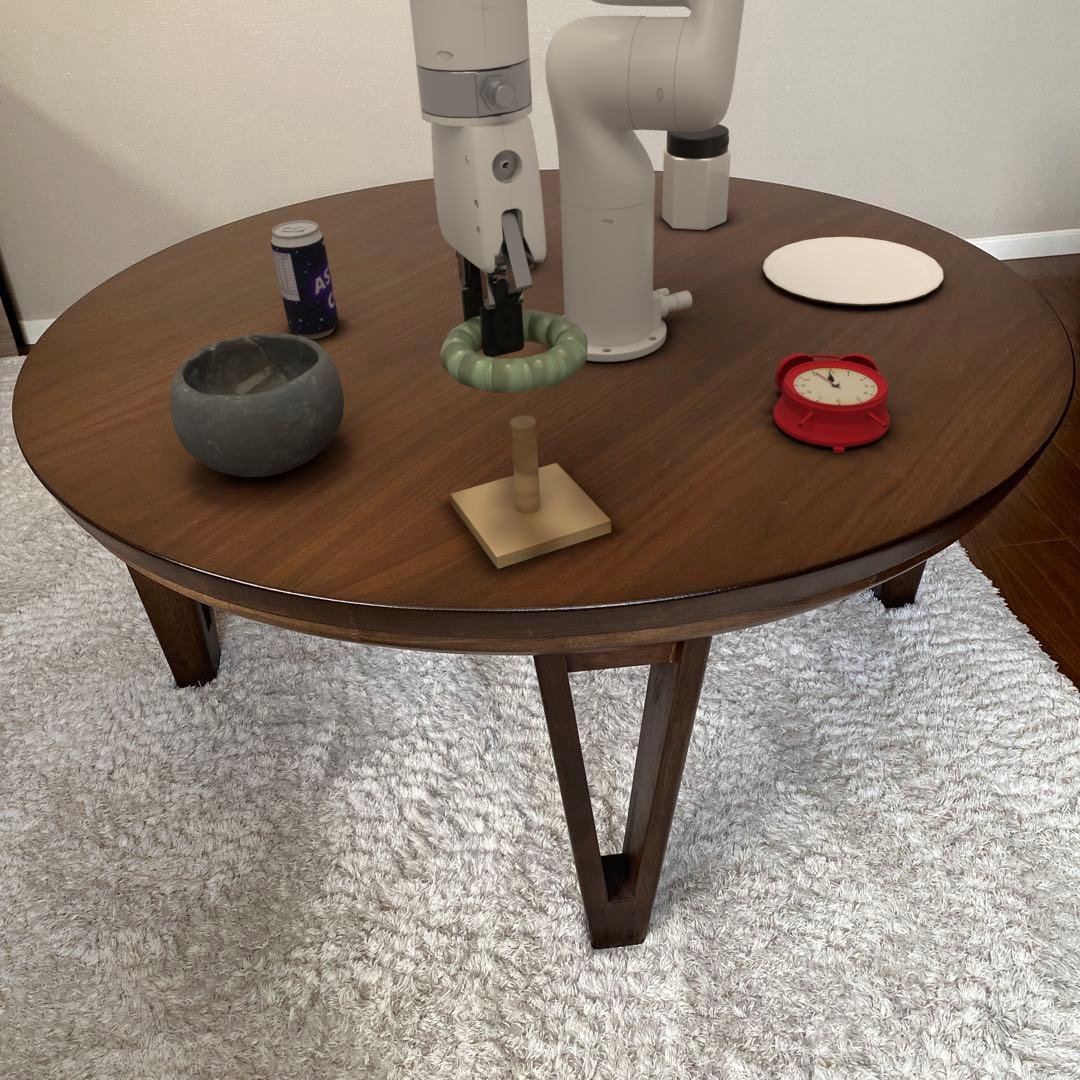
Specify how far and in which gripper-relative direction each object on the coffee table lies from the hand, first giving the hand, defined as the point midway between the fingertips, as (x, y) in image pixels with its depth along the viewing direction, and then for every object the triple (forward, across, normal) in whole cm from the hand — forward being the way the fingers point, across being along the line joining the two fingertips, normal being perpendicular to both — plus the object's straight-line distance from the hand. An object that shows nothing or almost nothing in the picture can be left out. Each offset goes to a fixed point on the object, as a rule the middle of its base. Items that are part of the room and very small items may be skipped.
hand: (494, 342), depth 78 cm
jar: (+14, +50, -50) cm, 72 cm away
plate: (+14, +23, -55) cm, 61 cm away
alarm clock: (+14, -2, -32) cm, 35 cm away
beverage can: (+14, +42, +6) cm, 45 cm away
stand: (+14, -4, 0) cm, 15 cm away
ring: (-1, -4, 0) cm, 4 cm away
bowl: (+14, +16, +17) cm, 27 cm away
